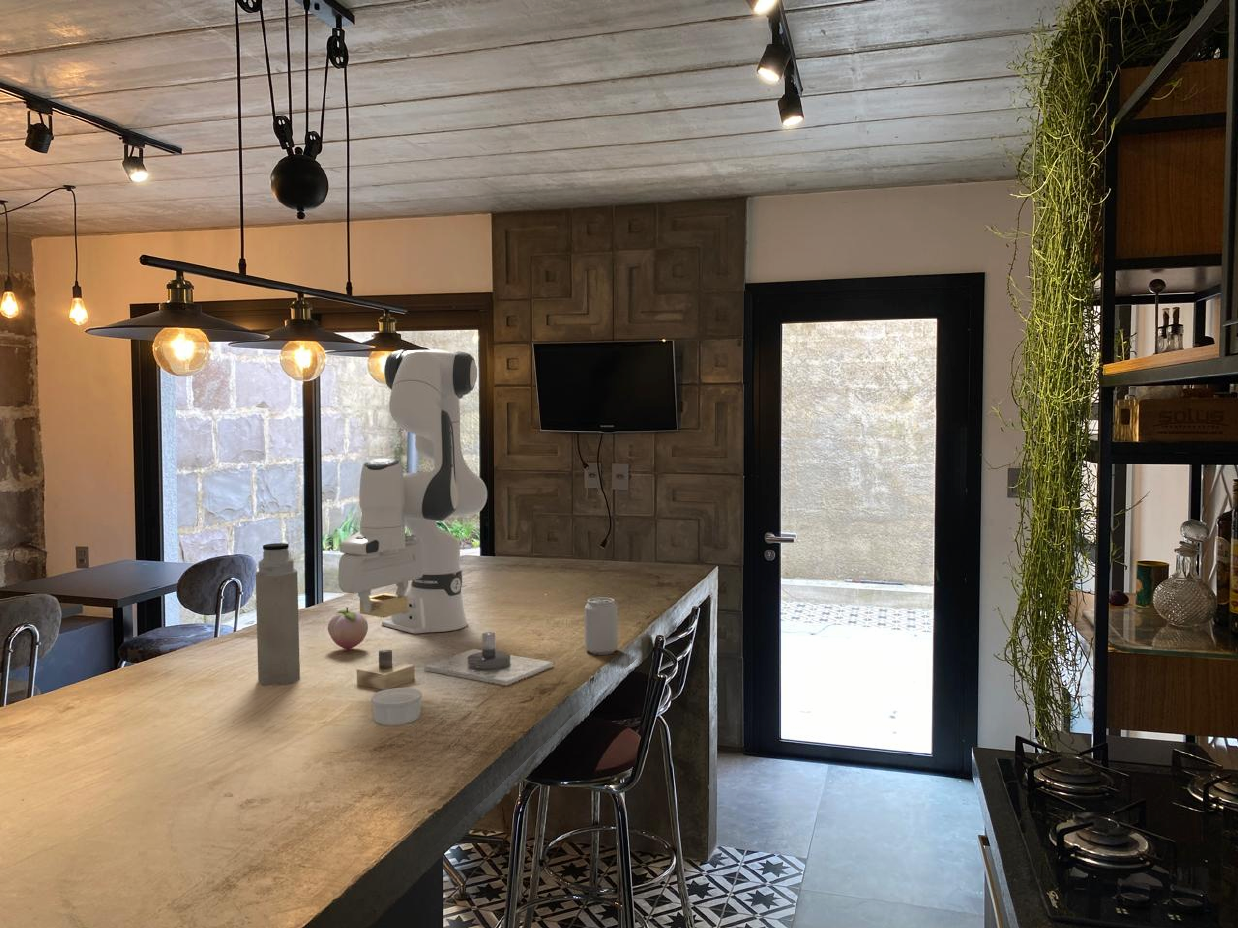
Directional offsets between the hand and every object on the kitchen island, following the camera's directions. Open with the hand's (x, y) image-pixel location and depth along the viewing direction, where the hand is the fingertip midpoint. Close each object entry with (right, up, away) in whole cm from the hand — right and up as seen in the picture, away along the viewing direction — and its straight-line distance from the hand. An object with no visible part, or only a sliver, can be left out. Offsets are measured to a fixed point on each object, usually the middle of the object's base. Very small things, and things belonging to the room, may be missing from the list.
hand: (384, 607), depth 182 cm
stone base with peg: (+20, -15, +10) cm, 26 cm away
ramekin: (+8, -17, -22) cm, 28 cm away
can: (+44, -14, +23) cm, 51 cm away
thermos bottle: (-22, -15, +2) cm, 27 cm away
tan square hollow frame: (0, -1, 0) cm, 1 cm away
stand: (0, -15, +1) cm, 15 cm away
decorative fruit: (-15, -14, +26) cm, 33 cm away
